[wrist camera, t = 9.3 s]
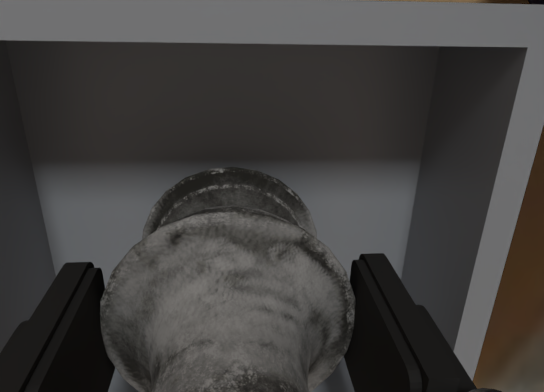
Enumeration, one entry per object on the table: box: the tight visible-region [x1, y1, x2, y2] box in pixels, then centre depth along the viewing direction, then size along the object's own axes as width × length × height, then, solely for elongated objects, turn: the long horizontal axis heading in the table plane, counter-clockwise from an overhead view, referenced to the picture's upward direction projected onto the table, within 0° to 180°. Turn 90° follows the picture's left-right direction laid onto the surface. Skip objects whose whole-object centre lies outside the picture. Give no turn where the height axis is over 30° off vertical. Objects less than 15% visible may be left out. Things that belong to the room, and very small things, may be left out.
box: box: [0, 0, 544, 392], centre depth 13 cm, size 14×14×5 cm
